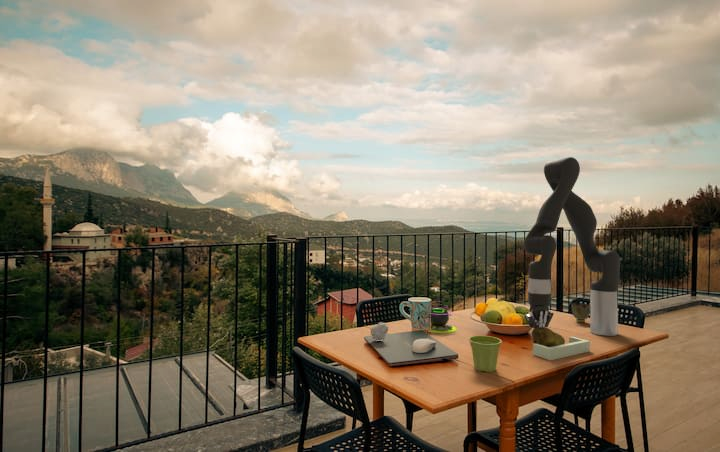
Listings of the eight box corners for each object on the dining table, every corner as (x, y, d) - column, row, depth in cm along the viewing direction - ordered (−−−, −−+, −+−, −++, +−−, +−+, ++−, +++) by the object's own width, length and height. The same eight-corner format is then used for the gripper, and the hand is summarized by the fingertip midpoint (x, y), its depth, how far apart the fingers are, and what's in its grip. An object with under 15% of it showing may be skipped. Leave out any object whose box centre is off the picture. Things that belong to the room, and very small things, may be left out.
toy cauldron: (463, 328, 169) (463, 302, 169) (445, 335, 158) (445, 307, 158) (432, 322, 179) (432, 297, 179) (413, 329, 168) (413, 302, 168)
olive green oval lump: (574, 352, 136) (574, 329, 136) (538, 354, 135) (538, 330, 135) (559, 345, 145) (559, 323, 145) (525, 346, 143) (525, 324, 143)
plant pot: (483, 376, 114) (483, 345, 114) (462, 365, 123) (462, 337, 123) (508, 371, 118) (508, 342, 118) (486, 362, 127) (486, 334, 127)
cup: (574, 323, 178) (574, 305, 178) (568, 320, 185) (569, 302, 186) (593, 324, 177) (593, 306, 177) (586, 320, 184) (586, 303, 184)
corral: (571, 346, 144) (571, 336, 144) (589, 351, 138) (589, 341, 138) (532, 354, 134) (532, 344, 134) (550, 360, 129) (550, 349, 129)
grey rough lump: (386, 344, 145) (386, 325, 145) (367, 342, 147) (367, 323, 147) (390, 340, 150) (390, 321, 150) (372, 338, 153) (372, 319, 153)
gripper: (542, 288, 151) (542, 334, 151) (517, 291, 144) (517, 339, 145) (561, 291, 144) (560, 340, 144) (535, 294, 138) (535, 345, 138)
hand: (538, 339), depth 144 cm, fingers closed
